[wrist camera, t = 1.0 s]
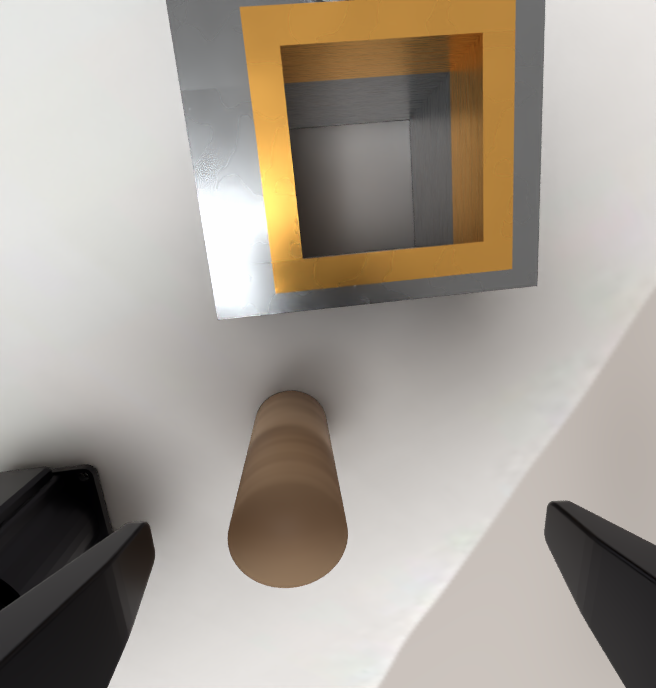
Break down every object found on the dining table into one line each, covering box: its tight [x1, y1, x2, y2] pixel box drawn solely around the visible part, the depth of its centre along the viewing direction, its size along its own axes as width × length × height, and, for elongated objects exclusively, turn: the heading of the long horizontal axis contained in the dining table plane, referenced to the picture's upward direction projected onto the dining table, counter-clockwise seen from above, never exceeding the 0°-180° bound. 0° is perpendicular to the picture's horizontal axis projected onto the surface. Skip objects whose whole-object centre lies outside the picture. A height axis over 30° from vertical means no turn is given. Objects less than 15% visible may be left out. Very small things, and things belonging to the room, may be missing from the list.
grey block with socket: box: [166, 0, 545, 320], centre depth 15 cm, size 16×13×8 cm
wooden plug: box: [228, 391, 348, 588], centre depth 17 cm, size 4×4×9 cm
